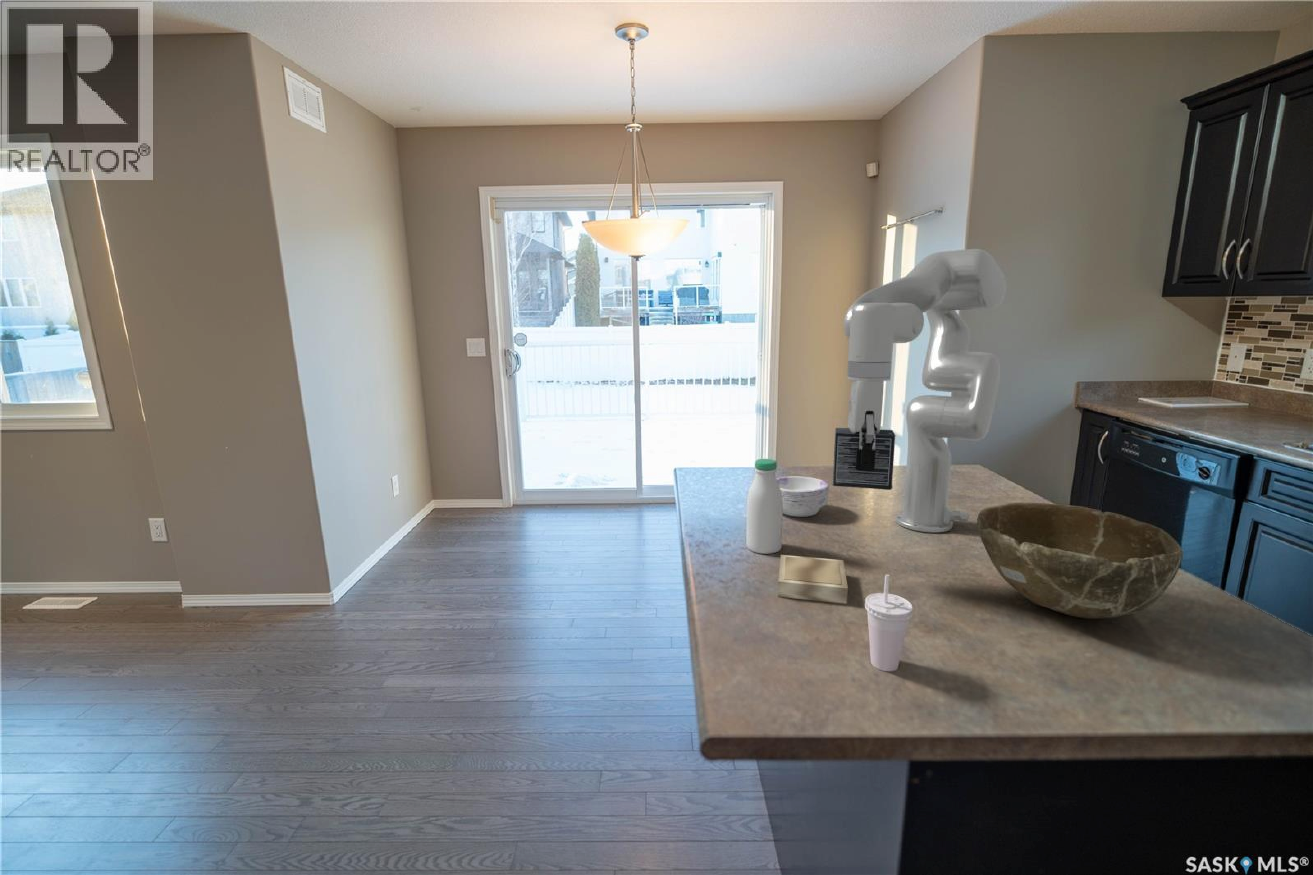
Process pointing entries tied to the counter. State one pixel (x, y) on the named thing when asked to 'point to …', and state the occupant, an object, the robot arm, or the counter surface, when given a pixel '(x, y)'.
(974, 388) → the robot arm
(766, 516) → the milk bottle
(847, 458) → the small box
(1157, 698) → the counter surface
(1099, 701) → the counter surface
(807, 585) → the base
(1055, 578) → the bowl
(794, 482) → the paper bowls
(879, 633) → the smoothie
